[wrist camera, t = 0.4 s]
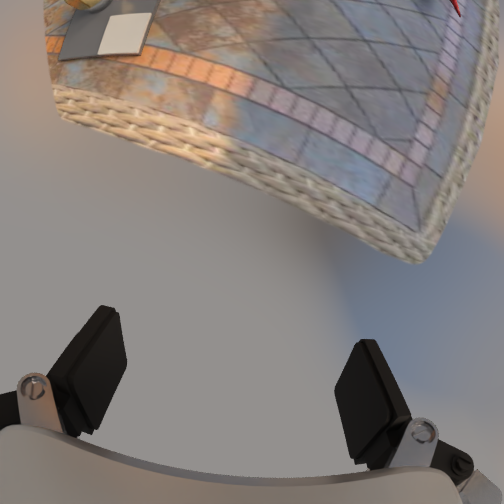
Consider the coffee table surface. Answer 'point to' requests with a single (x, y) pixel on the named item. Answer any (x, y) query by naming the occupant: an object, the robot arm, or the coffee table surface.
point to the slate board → (100, 28)
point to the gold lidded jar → (82, 3)
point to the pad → (124, 34)
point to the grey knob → (99, 6)
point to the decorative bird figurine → (456, 6)
